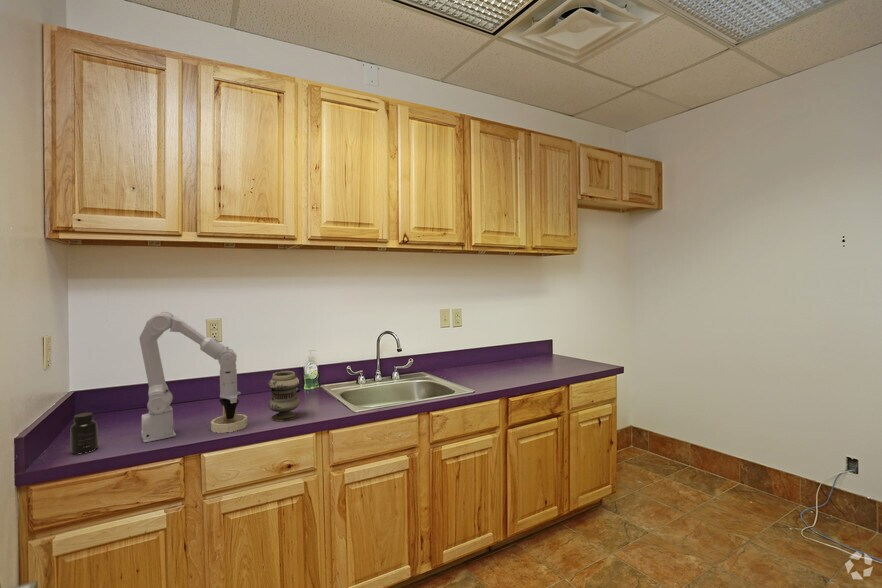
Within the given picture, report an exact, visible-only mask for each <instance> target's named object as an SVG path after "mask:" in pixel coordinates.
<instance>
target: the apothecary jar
mask: <svg viewBox="0 0 882 588" xmlns="http://www.w3.org/2000/svg"><path fill="white" fill-rule="evenodd" d="M299 384H300V380H299V378H298V377H297V376H296V373H295V371H291V370H281V371H276V372H274V373H272V377H271V379H270V380H269V381H268V383H267V385H268V388H269V389H270V390H271V399H270V400H269V402H268V408H269V409H270V410H271V411H273V412H277V413H276V414H273V415H272V416H271V418H270V419H271V420H272V421H274V420H275V421H277V422H285V421H292V420H294V419H296V418H297V417H298V414H297V413H296V412H293V411H294V410H295V409H297V408H298V407H299V406H300V405H301V399H300V398H299V397H298V396H297V395H298V394H297V386H299Z"/></svg>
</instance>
